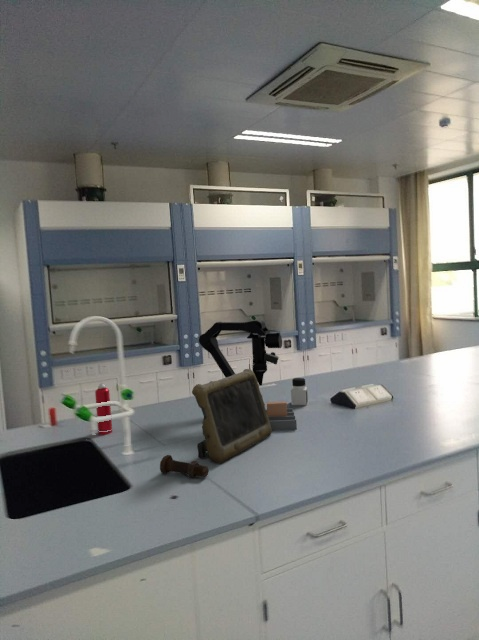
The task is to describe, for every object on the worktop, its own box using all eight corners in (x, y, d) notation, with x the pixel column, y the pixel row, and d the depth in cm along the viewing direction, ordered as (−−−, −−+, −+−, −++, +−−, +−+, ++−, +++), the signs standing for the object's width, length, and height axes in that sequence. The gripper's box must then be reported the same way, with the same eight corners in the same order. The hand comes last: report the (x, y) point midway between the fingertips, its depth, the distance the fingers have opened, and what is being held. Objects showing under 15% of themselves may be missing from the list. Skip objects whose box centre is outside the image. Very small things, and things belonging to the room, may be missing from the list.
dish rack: (260, 430, 173) (259, 421, 172) (259, 418, 189) (259, 409, 189) (296, 429, 172) (296, 420, 172) (293, 416, 189) (292, 408, 189)
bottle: (108, 429, 185) (104, 381, 184) (114, 431, 181) (111, 383, 180) (95, 432, 181) (92, 384, 180) (102, 435, 178) (98, 385, 176)
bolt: (205, 485, 131) (163, 477, 138) (212, 471, 135) (171, 463, 141) (200, 472, 128) (157, 464, 135) (207, 458, 132) (165, 451, 138)
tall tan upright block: (267, 423, 179) (266, 404, 179) (267, 421, 182) (266, 402, 182) (287, 422, 179) (286, 403, 179) (287, 420, 182) (286, 401, 182)
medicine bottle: (307, 405, 206) (305, 379, 205) (291, 405, 207) (290, 379, 207) (307, 401, 213) (306, 376, 212) (292, 401, 214) (291, 376, 214)
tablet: (227, 466, 140) (223, 387, 138) (192, 460, 147) (187, 385, 145) (274, 434, 167) (270, 368, 166) (242, 430, 175) (238, 367, 173)
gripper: (278, 350, 187) (279, 386, 188) (275, 344, 206) (277, 378, 207) (251, 351, 188) (253, 388, 189) (251, 345, 206) (253, 379, 207)
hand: (260, 383), depth 198 cm, fingers open, 9 cm apart
